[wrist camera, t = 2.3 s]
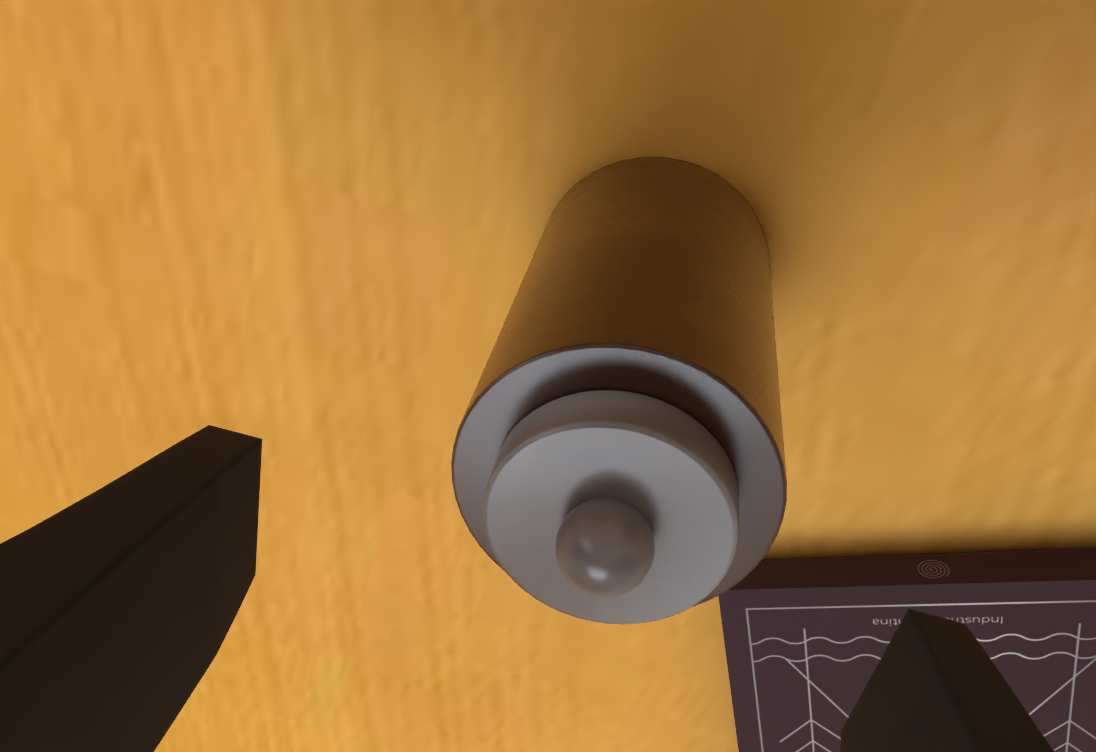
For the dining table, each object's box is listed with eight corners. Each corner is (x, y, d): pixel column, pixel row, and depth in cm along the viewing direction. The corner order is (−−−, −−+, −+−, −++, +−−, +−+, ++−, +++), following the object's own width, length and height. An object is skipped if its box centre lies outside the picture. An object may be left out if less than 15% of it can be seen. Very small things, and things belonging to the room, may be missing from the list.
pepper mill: (802, 192, 18) (854, 486, 10) (727, 390, 20) (724, 750, 12) (568, 129, 18) (446, 374, 10) (520, 333, 20) (393, 656, 13)
